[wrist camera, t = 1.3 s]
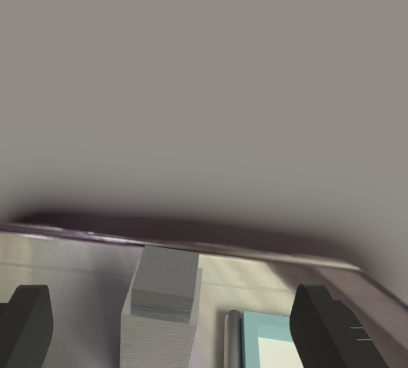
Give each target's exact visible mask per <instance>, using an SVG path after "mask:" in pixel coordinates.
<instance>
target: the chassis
mask: <svg viewBox="0 0 408 368" xmlns="http://www.w3.org/2000/svg"><path fill="white" fill-rule="evenodd" d="M289 320H290V317H284V316H278V315H271V314H265V313H258V312H251V311H245V310H244V311H243V314H242V317H241V313H240V312H239V311H237V310H232V311H230V312H229V313H228V314H226V317H225V328H224V368H304V367H303V365H302V362H301V360H300V357H299V355H298V352H297V350H296V347H295V345H294V342H293V340H292V337H291V333H290V327H289Z"/></svg>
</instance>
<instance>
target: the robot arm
mask: <svg viewBox="0 0 408 368" xmlns="http://www.w3.org/2000/svg"><path fill="white" fill-rule="evenodd" d="M289 327H290V333H291V337H292V340H293V342H294V345H295V347H296V350H297V352H298V355H299V357H300V360H301V362H302V365H303V367H304V368H389V367H388V366H387V364H386V362H385V361H384V359H383V358H382V356H381V355H380V353H379V352H378V350H377V348H376V347H375V345H374V344H373V342H372V341H370V338H369V336H368V334H367V333H366V331H365V330H364V329H362V325H361V324H360V322H359V320H358V319H357V317H356V316H355V314H354V313H353V312H352V311H351V310H350V309H349V308H348V307H347V306H346V305H344V304H343V303H342V302H341V301H340V300H333V299H332V297H331V295H330V294H329V292H328V290H327V289H326V287H325V286H324V285H322V284H300V285H299V286H298V288H297V292H296V295H295V299H294V303H293V307H292V311H291V315H290V320H289ZM52 333H53V316H52V309H51V302H50V295H49V289H48V286H47V285H19V286H18V287H17V289H16V290H15V292H14V294H13V296H12V297H11V299H10V301H9V303H0V368H41V367H42V364H43V362H44V359H45V356H46V353H47V350H48V348H49V345H50V342H51V338H52Z"/></svg>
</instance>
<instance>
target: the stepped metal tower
mask: <svg viewBox="0 0 408 368" xmlns="http://www.w3.org/2000/svg"><path fill="white" fill-rule="evenodd" d="M198 258H199V253H193V252H186V251H180V250H173V249H167V248H160V247H154V246H148V245H145V247H144V250H143V253H142V256H141V259H138V262H137V266H136V269H135V272H134V275H133V278H132V281H131V284H130V287H129V291H128V294H127V297H126V300H125V303H124V306H123V309H122V312H121V339H120V368H188V364H189V359H190V355H191V350H192V346H193V341H194V337H195V332H196V328H197V320H198V309H199V299H200V288H201V278H202V268H197V267H198Z"/></svg>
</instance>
